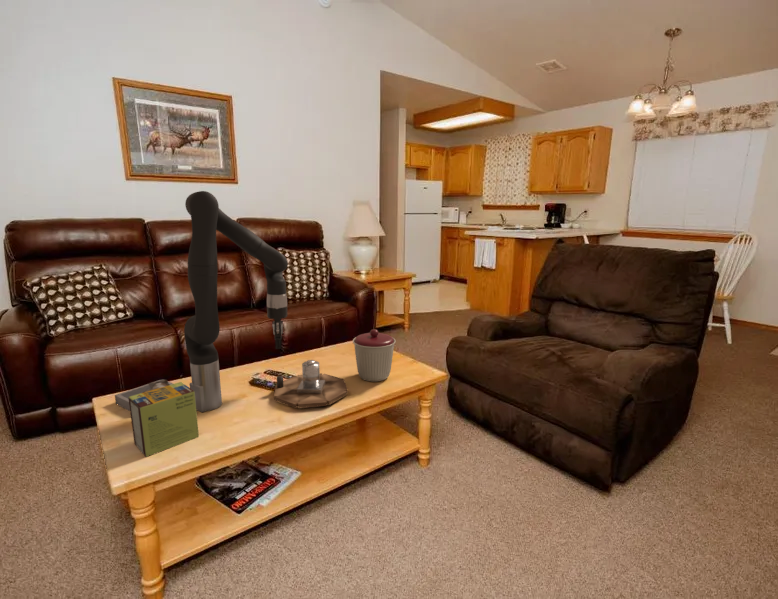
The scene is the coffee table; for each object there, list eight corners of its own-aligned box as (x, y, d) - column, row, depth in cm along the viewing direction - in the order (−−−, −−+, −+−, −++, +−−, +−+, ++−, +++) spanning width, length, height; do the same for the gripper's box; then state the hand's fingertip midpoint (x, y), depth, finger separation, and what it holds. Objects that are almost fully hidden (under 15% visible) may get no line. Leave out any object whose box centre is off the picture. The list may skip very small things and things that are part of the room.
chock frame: (138, 415, 142) (137, 406, 142) (116, 404, 150) (114, 395, 150) (186, 396, 157) (185, 388, 156) (163, 387, 165) (162, 379, 164)
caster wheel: (132, 417, 146) (143, 400, 156) (164, 409, 147) (173, 393, 157) (124, 401, 144) (136, 385, 153) (157, 393, 145) (167, 378, 154)
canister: (366, 389, 165) (366, 338, 160) (345, 374, 180) (344, 327, 175) (403, 379, 174) (404, 331, 170) (381, 366, 189) (381, 321, 185)
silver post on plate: (320, 393, 155) (320, 365, 153) (296, 392, 155) (295, 365, 153) (325, 383, 164) (324, 357, 161) (302, 383, 164) (301, 356, 162)
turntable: (313, 414, 142) (312, 399, 141) (259, 395, 156) (258, 381, 155) (360, 386, 164) (360, 374, 163) (309, 372, 178) (309, 360, 177)
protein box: (199, 436, 130) (195, 390, 126) (145, 457, 118) (139, 407, 115) (185, 425, 136) (181, 381, 133) (133, 444, 125) (127, 396, 122)
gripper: (267, 301, 164) (268, 343, 167) (266, 309, 151) (268, 354, 155) (286, 301, 165) (288, 342, 169) (287, 308, 153) (288, 353, 156)
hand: (278, 348), depth 162 cm, fingers closed
